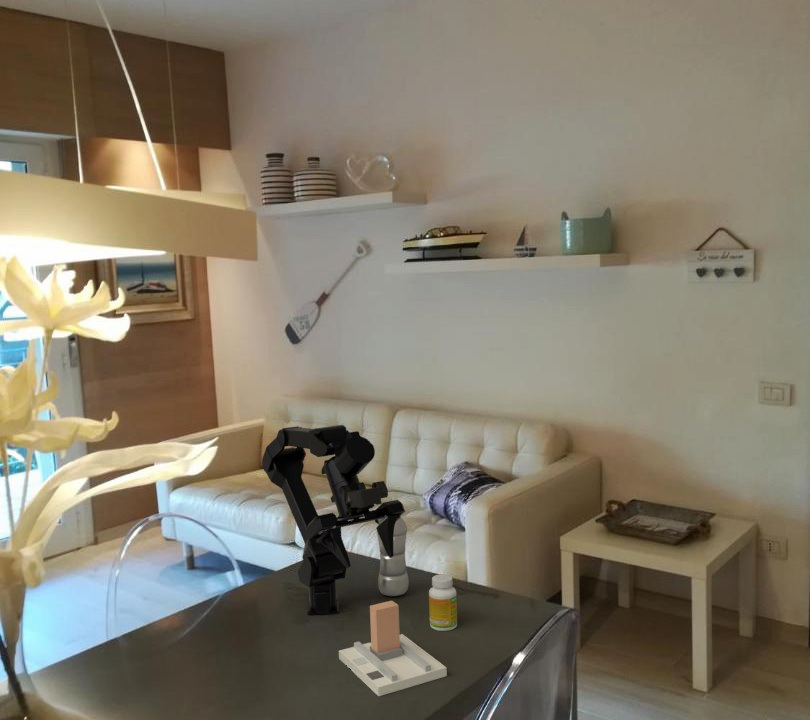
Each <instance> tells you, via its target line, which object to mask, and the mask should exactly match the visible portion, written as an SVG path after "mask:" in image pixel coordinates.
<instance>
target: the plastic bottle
mask: <svg viewBox="0 0 810 720" xmlns="http://www.w3.org/2000/svg"><path fill="white" fill-rule="evenodd" d="M378 526H379V524H377V526H376V528H377V527H378ZM407 532H408V526H407V523H406V522H405V520H404V518H403V517H402V515H401V516H400V519H398V520H397V521H396V523H395V526H394V537H393V557H392V558H389V556H388V554H387V553H386V550H385V548H384V546H383V543H382V541H381V538H380V536H379V534H378V531H377V530H376V533H377V534H376V535H377V541H378V546H379V547H378V548H379V553H380V554H379V558H380V559H379V573H378V578H377V585H378V590H379V591H380V593H381V594H382V595H384V596H386V597H387V596H388V597H397V596H399V597H400V596H402V595H404V594H406V592H407V591H408V589H409V584H410V583H409V575H408V571H407V565H406V564H407V563H406V541H407Z"/></svg>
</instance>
